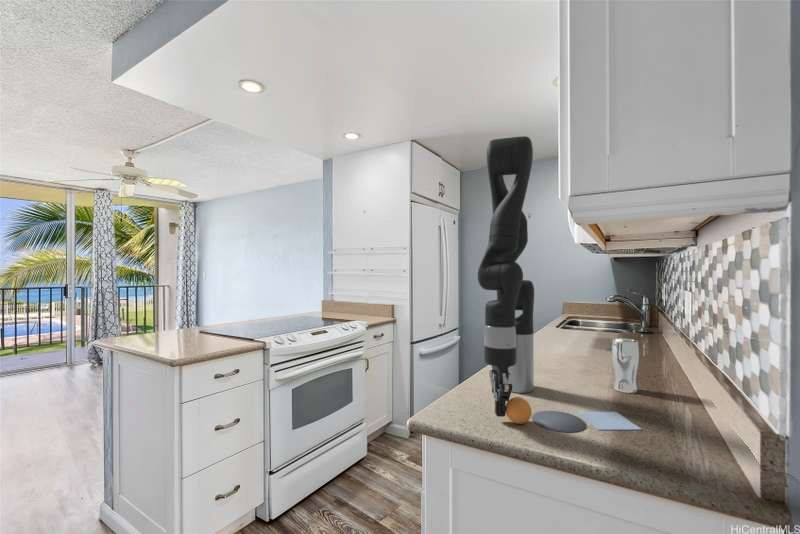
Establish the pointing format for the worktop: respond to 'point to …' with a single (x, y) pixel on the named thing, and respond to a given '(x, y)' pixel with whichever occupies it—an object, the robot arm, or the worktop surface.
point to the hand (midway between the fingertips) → (500, 415)
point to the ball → (518, 410)
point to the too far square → (608, 421)
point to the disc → (558, 421)
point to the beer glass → (625, 364)
